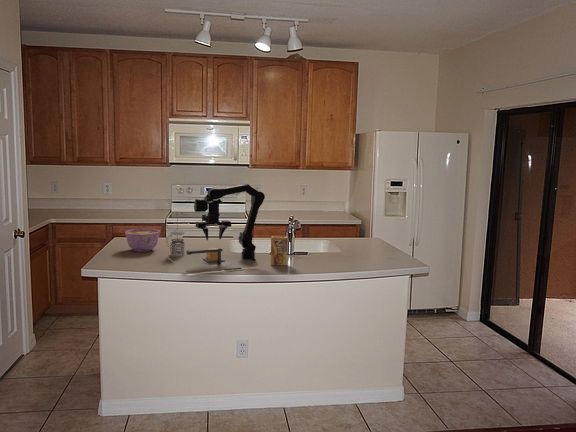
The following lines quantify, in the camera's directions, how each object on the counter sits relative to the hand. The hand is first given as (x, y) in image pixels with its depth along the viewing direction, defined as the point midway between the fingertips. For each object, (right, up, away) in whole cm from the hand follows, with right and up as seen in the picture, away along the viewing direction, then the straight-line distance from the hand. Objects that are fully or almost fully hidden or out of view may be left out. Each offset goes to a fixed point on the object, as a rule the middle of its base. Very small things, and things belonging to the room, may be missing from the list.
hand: (213, 239), depth 271 cm
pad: (+11, -15, -11) cm, 21 cm away
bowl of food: (-46, -8, +26) cm, 53 cm away
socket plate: (+1, -13, 0) cm, 13 cm away
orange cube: (0, -11, +2) cm, 12 cm away
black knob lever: (-3, -13, -10) cm, 16 cm away
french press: (-23, -10, +13) cm, 29 cm away
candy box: (+35, -14, +1) cm, 38 cm away
